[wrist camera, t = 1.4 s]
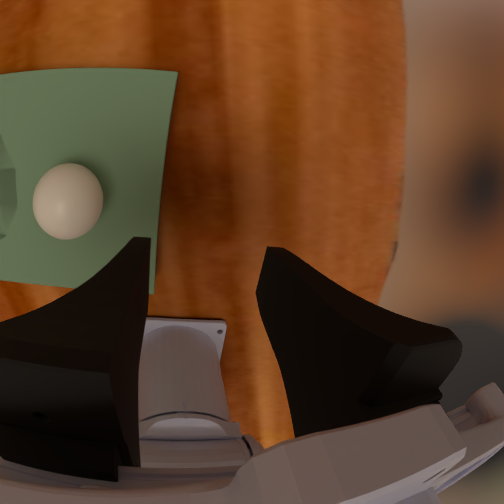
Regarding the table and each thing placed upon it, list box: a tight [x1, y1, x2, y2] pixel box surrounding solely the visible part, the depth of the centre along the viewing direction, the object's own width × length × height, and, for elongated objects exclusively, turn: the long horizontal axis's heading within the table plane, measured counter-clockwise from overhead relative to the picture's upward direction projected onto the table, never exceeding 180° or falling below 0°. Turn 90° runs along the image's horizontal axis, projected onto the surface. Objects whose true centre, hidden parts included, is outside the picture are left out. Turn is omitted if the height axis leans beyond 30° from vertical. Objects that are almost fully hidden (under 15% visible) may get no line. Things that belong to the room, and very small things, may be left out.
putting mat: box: [0, 68, 178, 294], centre depth 16 cm, size 20×14×2 cm
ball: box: [33, 163, 103, 240], centre depth 14 cm, size 4×4×4 cm
